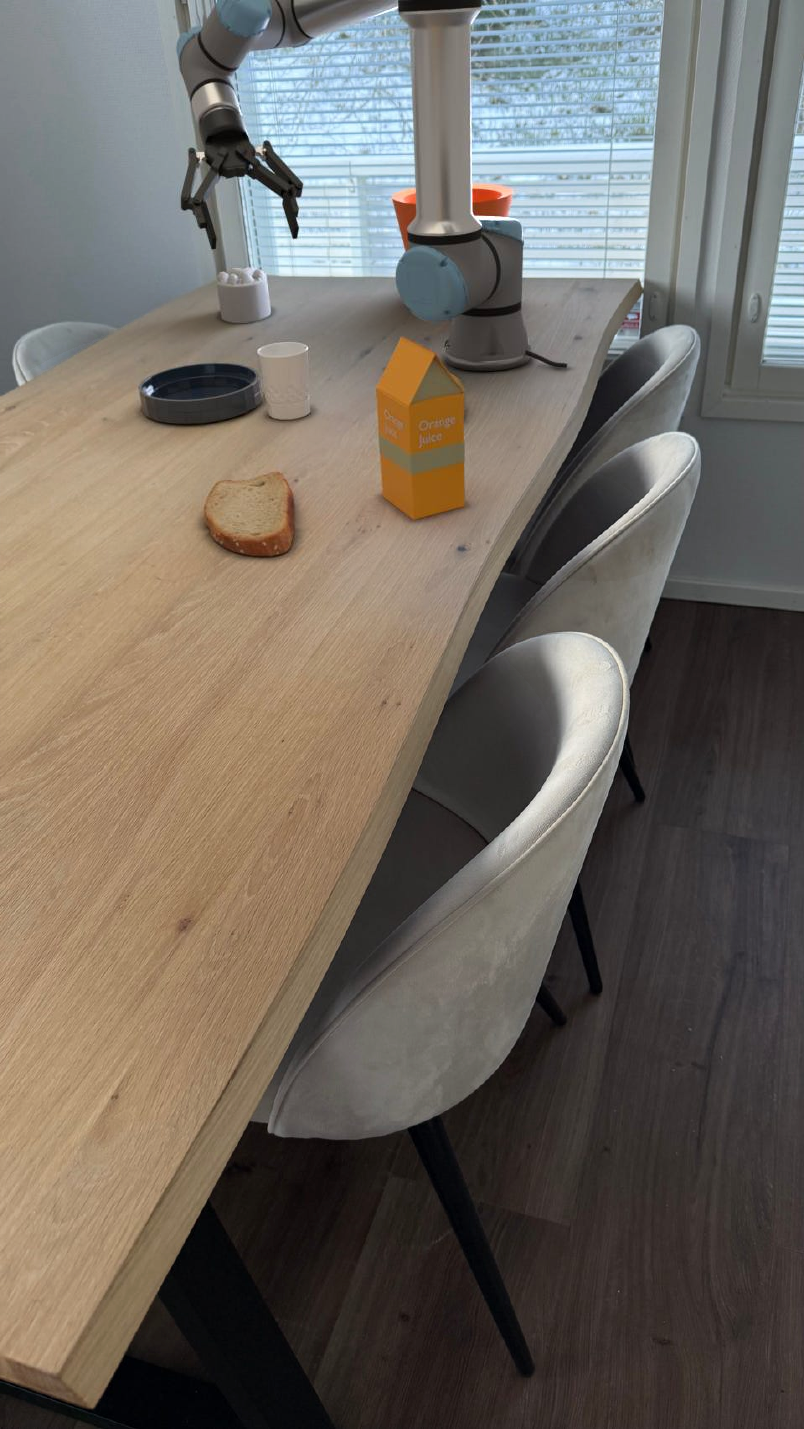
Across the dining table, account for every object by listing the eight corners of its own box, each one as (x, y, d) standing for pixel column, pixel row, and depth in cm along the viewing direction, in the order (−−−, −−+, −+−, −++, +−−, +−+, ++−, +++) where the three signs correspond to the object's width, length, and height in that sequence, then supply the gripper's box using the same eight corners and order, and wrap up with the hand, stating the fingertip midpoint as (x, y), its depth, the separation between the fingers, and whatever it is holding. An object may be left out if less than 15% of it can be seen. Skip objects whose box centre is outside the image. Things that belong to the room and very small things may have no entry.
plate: (286, 400, 165) (283, 376, 163) (191, 435, 154) (186, 409, 151) (213, 378, 176) (210, 355, 174) (120, 409, 165) (114, 385, 163)
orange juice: (412, 520, 125) (405, 358, 114) (381, 496, 132) (371, 341, 120) (466, 505, 128) (464, 346, 116) (433, 483, 134) (428, 329, 123)
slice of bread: (271, 563, 118) (267, 534, 115) (159, 533, 126) (153, 505, 124) (356, 505, 130) (354, 478, 127) (249, 481, 138) (245, 456, 136)
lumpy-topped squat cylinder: (271, 305, 216) (266, 262, 211) (269, 321, 206) (263, 276, 200) (223, 308, 216) (217, 266, 211) (219, 325, 205) (212, 280, 200)
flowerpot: (516, 307, 205) (518, 201, 193) (395, 313, 206) (390, 207, 194) (507, 279, 225) (509, 180, 213) (397, 284, 226) (392, 187, 214)
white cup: (265, 406, 163) (257, 344, 157) (314, 403, 163) (307, 340, 157) (264, 423, 156) (256, 358, 151) (314, 419, 157) (308, 354, 151)
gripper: (291, 133, 170) (325, 244, 167) (145, 148, 164) (178, 263, 161) (296, 99, 163) (332, 214, 160) (143, 113, 156) (178, 232, 154)
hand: (255, 239), depth 161 cm, fingers open, 13 cm apart
